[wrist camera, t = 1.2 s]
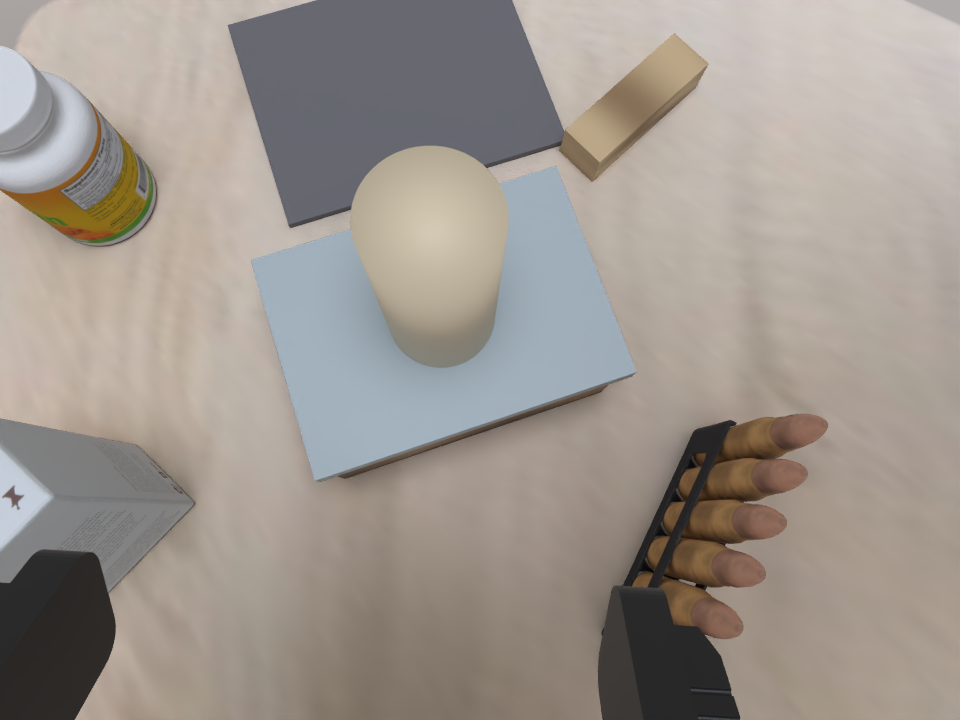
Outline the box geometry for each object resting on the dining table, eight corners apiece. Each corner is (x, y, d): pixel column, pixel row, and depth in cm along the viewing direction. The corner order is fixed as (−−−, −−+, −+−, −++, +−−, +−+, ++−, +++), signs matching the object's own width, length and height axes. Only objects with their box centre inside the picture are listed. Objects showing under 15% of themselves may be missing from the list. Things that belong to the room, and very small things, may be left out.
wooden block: (661, 61, 40) (674, 33, 37) (693, 90, 39) (708, 63, 37) (558, 153, 38) (565, 130, 36) (591, 184, 38) (599, 162, 36)
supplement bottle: (29, 208, 37) (-122, 101, 27) (103, 131, 38) (-19, 2, 28) (108, 268, 36) (-18, 181, 27) (181, 189, 37) (83, 78, 28)
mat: (491, -44, 41) (492, -49, 40) (566, 143, 38) (567, 139, 38) (230, 30, 39) (227, 25, 39) (290, 227, 37) (288, 224, 37)
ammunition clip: (695, 428, 35) (809, 384, 23) (729, 445, 35) (862, 410, 23) (600, 634, 33) (673, 700, 21) (637, 654, 33) (731, 731, 21)
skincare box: (136, 442, 35) (-32, 404, 23) (198, 503, 34) (58, 496, 22) (38, 539, 34) (-192, 551, 22) (100, 604, 33) (-101, 652, 21)
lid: (553, 176, 32) (596, 7, 22) (631, 376, 31) (721, 300, 20) (257, 268, 31) (147, 138, 20) (319, 482, 29) (235, 462, 19)
